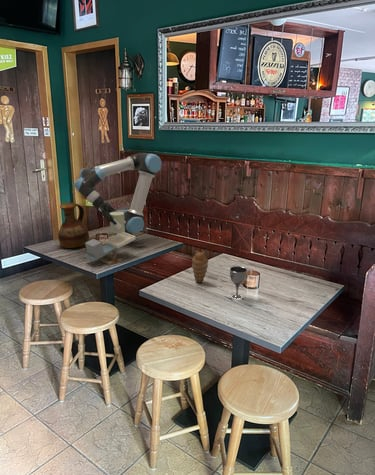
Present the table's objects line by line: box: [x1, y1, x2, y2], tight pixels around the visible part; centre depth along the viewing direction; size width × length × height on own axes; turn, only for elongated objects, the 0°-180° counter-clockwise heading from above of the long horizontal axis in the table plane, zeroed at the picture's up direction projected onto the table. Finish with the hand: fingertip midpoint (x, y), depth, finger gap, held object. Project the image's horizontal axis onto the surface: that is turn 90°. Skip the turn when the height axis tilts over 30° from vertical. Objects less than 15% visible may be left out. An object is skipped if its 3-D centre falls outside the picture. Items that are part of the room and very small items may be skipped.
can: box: [109, 212, 125, 234], centre depth 230 cm, size 9×9×12 cm
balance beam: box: [84, 232, 137, 262], centre depth 229 cm, size 30×14×8 cm, turn 134°
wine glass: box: [229, 265, 248, 299], centre depth 183 cm, size 8×8×15 cm
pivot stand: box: [96, 244, 124, 266], centre depth 231 cm, size 10×15×8 cm, turn 44°
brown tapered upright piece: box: [191, 250, 209, 284], centre depth 199 cm, size 9×8×18 cm
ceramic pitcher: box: [57, 202, 90, 249], centre depth 253 cm, size 20×20×30 cm
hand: (122, 225), depth 231 cm, fingers closed on can, 9 cm apart
